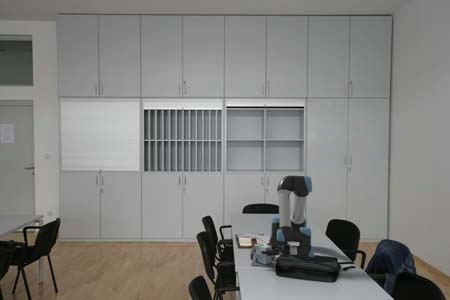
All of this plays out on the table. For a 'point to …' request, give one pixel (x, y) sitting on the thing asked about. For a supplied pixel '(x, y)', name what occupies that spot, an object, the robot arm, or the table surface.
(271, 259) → the brown wooden square frame
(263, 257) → the light bulb box
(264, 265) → the slate mat
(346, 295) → the table surface
